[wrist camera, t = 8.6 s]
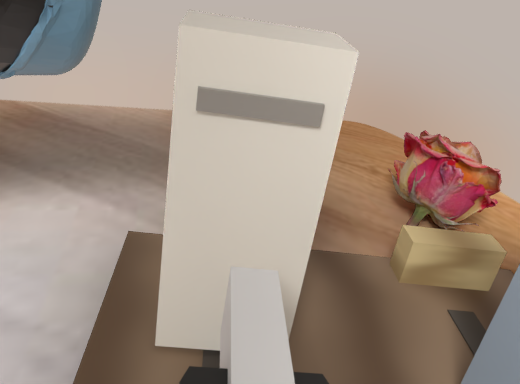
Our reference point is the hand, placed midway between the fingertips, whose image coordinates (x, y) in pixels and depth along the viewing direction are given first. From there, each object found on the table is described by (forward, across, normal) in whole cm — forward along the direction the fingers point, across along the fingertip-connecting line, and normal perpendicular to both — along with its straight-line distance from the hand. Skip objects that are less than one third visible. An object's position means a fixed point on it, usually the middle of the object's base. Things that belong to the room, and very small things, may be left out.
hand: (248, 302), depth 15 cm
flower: (+23, +18, -8) cm, 30 cm away
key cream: (+6, 0, -6) cm, 9 cm away
